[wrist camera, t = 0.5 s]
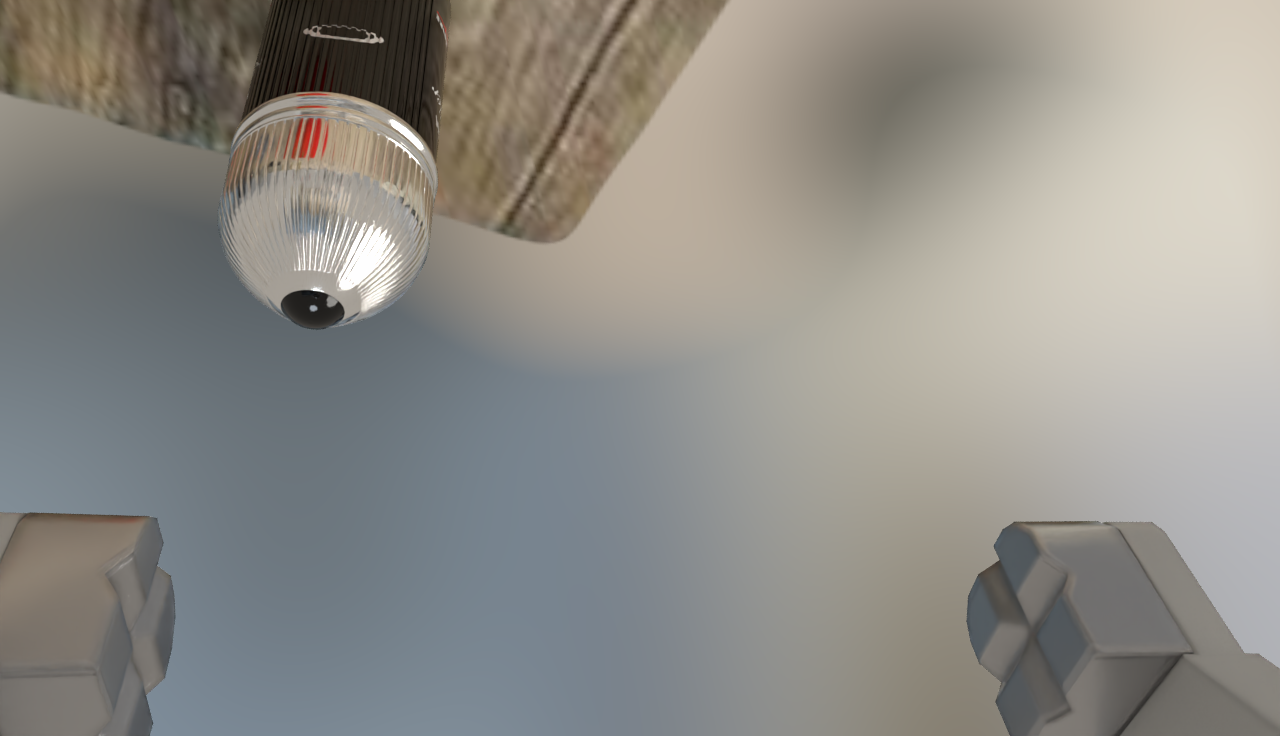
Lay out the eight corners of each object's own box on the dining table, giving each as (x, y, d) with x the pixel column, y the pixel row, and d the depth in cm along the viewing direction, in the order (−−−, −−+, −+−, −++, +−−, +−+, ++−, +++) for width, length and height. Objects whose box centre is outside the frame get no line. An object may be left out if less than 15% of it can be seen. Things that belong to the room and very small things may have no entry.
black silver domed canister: (286, 47, 66) (210, 376, 52) (269, -105, 58) (172, 238, 43) (452, 66, 68) (422, 390, 53) (458, -79, 59) (425, 259, 45)
